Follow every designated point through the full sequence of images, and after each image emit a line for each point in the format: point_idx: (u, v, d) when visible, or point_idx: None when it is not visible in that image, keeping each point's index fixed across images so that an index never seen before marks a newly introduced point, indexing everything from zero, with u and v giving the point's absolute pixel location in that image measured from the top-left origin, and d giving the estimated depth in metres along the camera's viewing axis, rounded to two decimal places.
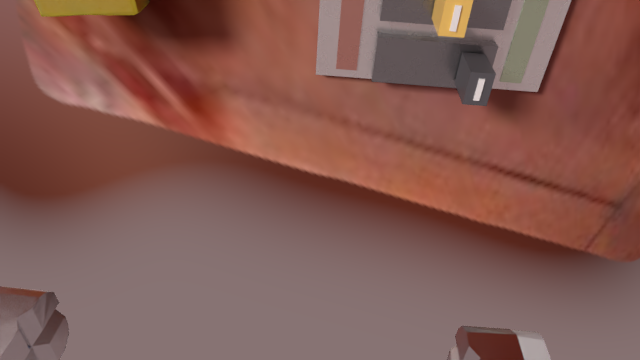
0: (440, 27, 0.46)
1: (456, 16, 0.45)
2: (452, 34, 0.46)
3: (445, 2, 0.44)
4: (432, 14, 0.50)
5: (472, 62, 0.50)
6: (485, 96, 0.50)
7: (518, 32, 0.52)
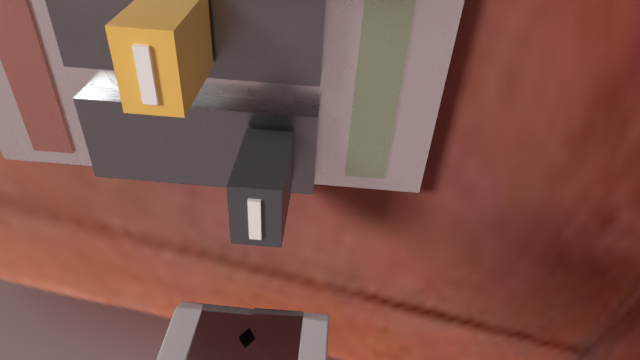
0: (122, 95, 0.19)
1: (145, 71, 0.18)
2: (155, 110, 0.19)
3: (110, 37, 0.18)
4: None
5: (249, 157, 0.23)
6: (273, 231, 0.23)
7: (360, 88, 0.25)
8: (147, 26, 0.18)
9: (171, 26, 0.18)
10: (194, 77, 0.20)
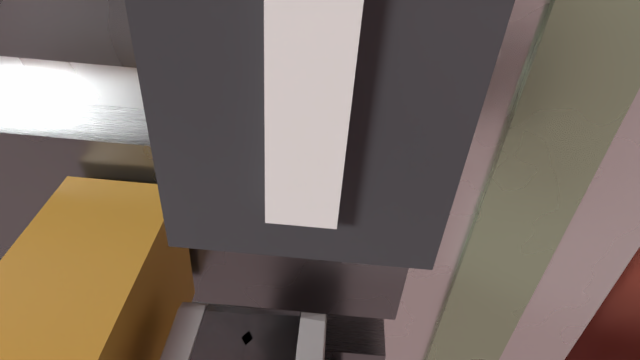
0: None
1: None
2: None
3: None
4: None
5: None
6: None
7: (458, 301, 0.15)
8: None
9: None
10: None
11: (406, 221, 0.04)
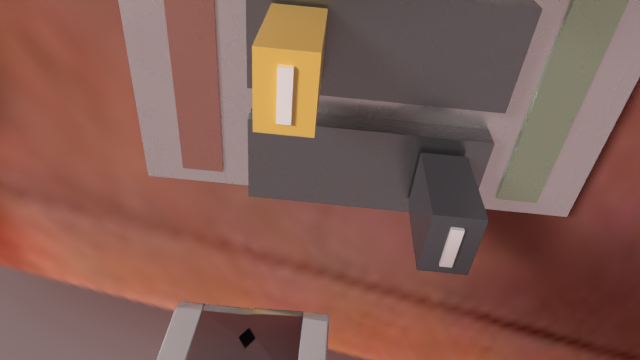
0: (254, 114, 0.19)
1: (285, 91, 0.18)
2: (285, 130, 0.19)
3: (254, 58, 0.18)
4: None
5: (439, 183, 0.23)
6: (465, 259, 0.23)
7: (535, 114, 0.25)
8: (293, 47, 0.17)
9: (316, 47, 0.18)
10: None
11: None
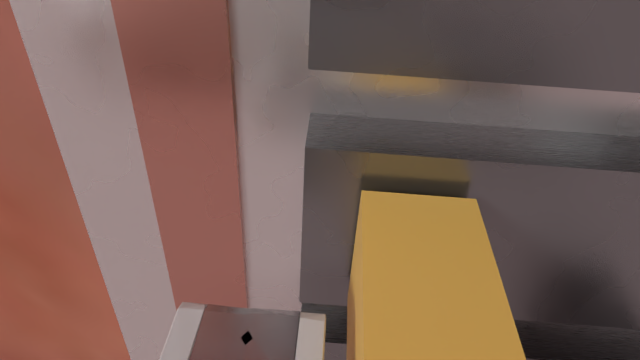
0: None
1: None
2: None
3: None
4: (349, 289, 0.12)
5: None
6: None
7: None
8: None
9: None
10: None
11: None
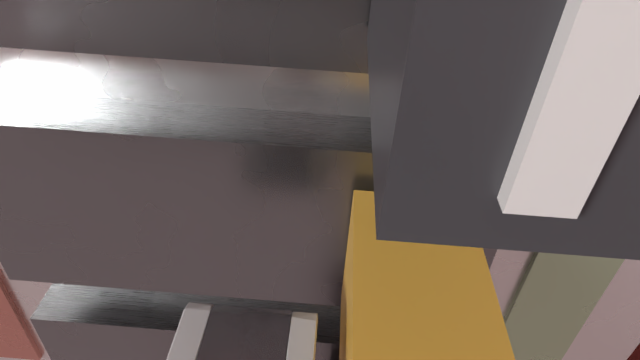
0: None
1: None
2: None
3: None
4: (342, 289, 0.12)
5: None
6: None
7: (528, 297, 0.15)
8: None
9: None
10: None
11: (638, 210, 0.04)
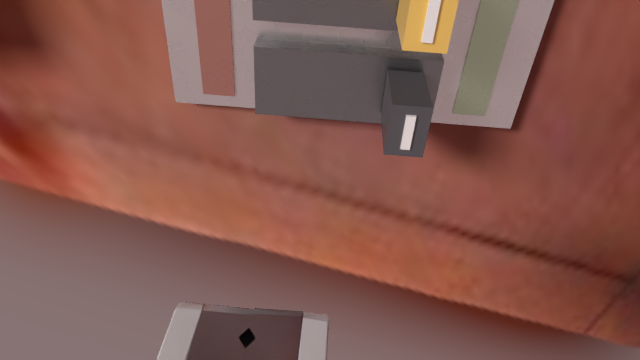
0: (405, 36, 0.26)
1: (432, 17, 0.25)
2: (426, 48, 0.27)
3: None
4: (397, 14, 0.30)
5: (399, 87, 0.31)
6: (419, 142, 0.30)
7: (476, 38, 0.33)
8: None
9: None
10: None
11: None
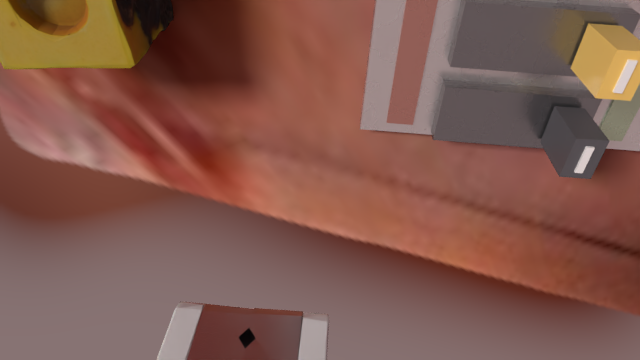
0: (600, 87, 0.34)
1: (627, 74, 0.33)
2: (615, 96, 0.34)
3: (614, 56, 0.32)
4: (573, 64, 0.38)
5: (573, 122, 0.38)
6: (591, 167, 0.38)
7: None
8: (637, 50, 0.32)
9: None
10: None
11: None
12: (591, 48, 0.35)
